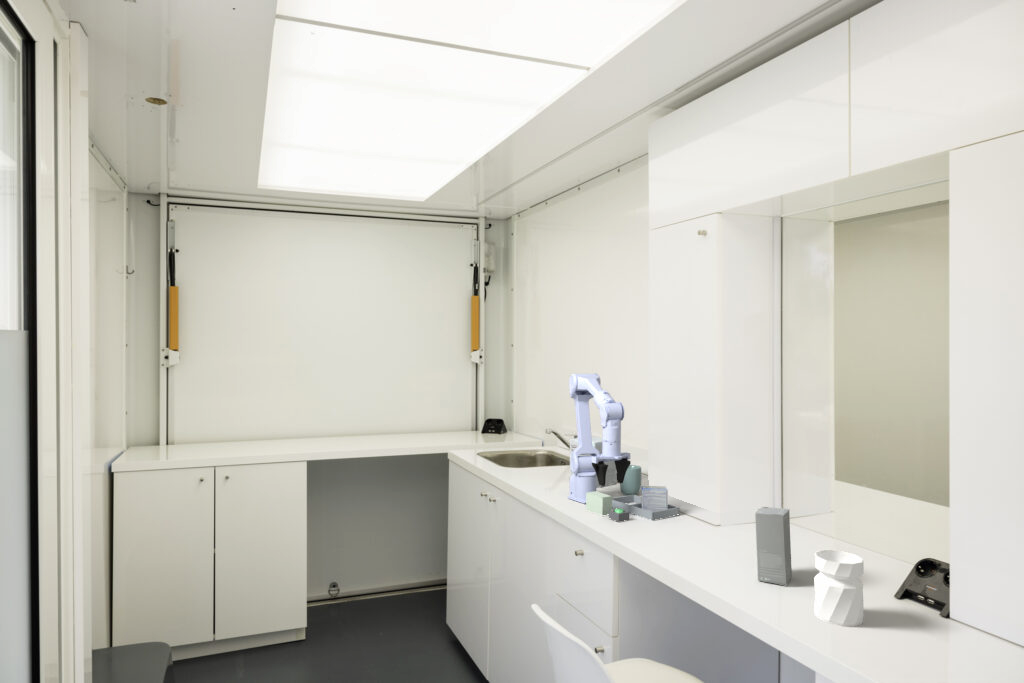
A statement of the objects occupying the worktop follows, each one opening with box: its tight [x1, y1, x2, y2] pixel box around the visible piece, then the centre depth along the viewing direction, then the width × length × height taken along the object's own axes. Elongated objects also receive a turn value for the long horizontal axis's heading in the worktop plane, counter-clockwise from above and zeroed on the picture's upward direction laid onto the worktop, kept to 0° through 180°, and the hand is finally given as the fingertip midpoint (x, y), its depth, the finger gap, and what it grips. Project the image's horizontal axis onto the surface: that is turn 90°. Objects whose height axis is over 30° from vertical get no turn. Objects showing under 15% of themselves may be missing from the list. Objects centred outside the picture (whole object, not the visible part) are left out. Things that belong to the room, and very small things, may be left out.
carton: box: [585, 490, 613, 515], centre depth 205 cm, size 8×4×6 cm, turn 33°
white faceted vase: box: [813, 549, 865, 627], centre depth 126 cm, size 9×9×12 cm
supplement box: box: [569, 435, 617, 489], centre depth 249 cm, size 13×13×18 cm
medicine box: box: [640, 485, 669, 512], centre depth 204 cm, size 8×4×9 cm, turn 84°
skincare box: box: [754, 506, 793, 587], centre depth 147 cm, size 8×7×16 cm
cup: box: [619, 464, 642, 496], centre depth 231 cm, size 8×8×10 cm
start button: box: [614, 508, 623, 513], centre depth 197 cm, size 3×3×3 cm
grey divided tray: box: [612, 494, 680, 521], centre depth 208 cm, size 21×12×2 cm, turn 33°
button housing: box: [608, 509, 630, 522], centre depth 197 cm, size 4×4×2 cm
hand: (611, 484), depth 200 cm, fingers open, 7 cm apart
